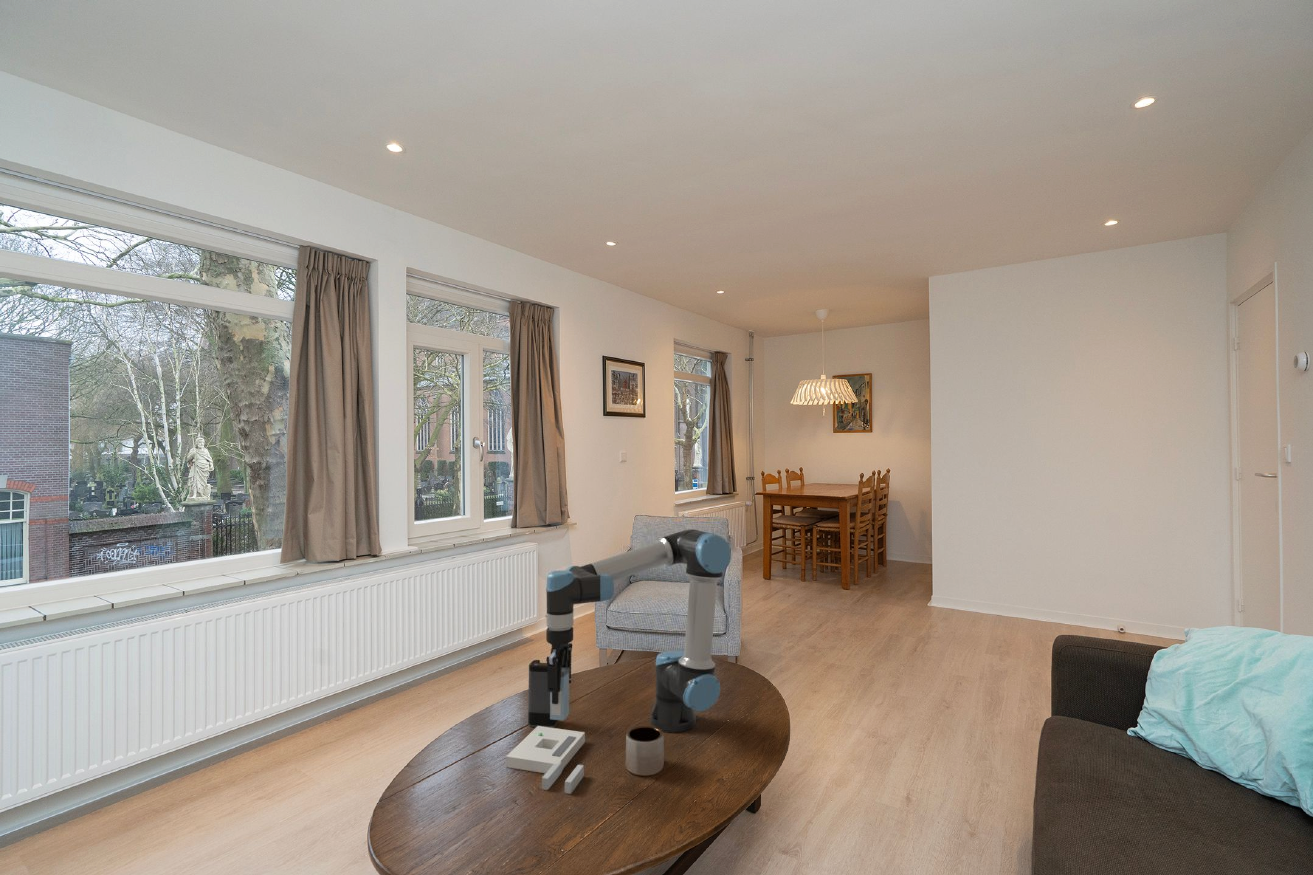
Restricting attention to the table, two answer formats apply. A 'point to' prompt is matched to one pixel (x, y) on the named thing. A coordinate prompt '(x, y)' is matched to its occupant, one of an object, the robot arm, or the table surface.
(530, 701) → the electronic device
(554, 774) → the cradle
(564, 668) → the plug
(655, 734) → the planter
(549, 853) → the table surface
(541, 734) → the port plate
